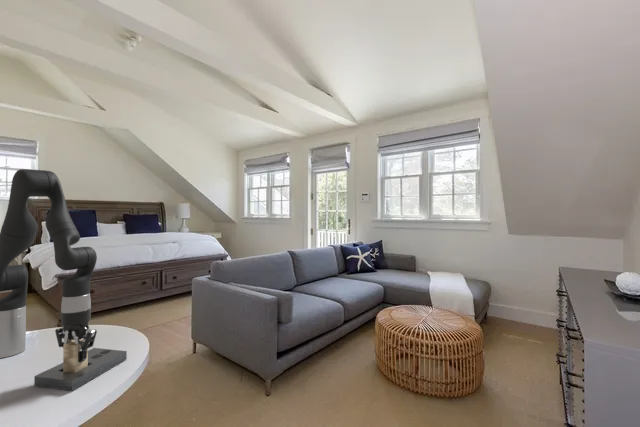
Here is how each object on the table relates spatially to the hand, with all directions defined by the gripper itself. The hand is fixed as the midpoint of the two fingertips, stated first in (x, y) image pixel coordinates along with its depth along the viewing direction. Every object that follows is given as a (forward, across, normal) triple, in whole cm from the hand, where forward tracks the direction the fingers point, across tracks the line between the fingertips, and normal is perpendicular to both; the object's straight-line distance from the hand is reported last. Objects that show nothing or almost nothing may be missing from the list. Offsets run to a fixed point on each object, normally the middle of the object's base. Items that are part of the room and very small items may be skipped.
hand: (75, 360), depth 98 cm
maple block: (+3, 0, 0) cm, 3 cm away
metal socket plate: (+5, 0, +3) cm, 6 cm away
